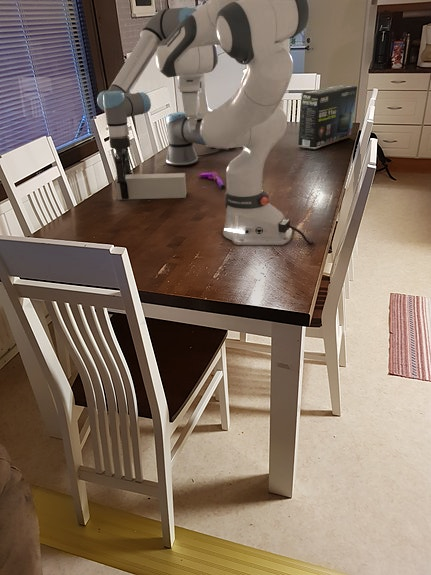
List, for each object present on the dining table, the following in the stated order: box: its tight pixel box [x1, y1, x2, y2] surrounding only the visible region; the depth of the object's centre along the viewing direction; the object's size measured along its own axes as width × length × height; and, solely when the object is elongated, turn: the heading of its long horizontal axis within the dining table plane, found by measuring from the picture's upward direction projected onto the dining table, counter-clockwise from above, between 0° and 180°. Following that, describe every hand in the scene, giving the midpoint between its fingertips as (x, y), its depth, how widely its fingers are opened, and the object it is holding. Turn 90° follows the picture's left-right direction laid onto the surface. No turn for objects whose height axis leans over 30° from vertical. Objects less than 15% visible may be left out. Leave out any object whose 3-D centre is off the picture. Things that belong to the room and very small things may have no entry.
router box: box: [297, 84, 358, 151], centre depth 238 cm, size 36×11×27 cm, turn 134°
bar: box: [114, 172, 188, 200], centre depth 181 cm, size 27×5×8 cm, turn 89°
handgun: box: [199, 171, 226, 190], centre depth 194 cm, size 21×8×2 cm, turn 11°
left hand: (127, 195), depth 183 cm, fingers open, 7 cm apart
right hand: (193, 126), depth 156 cm, fingers open, 8 cm apart
